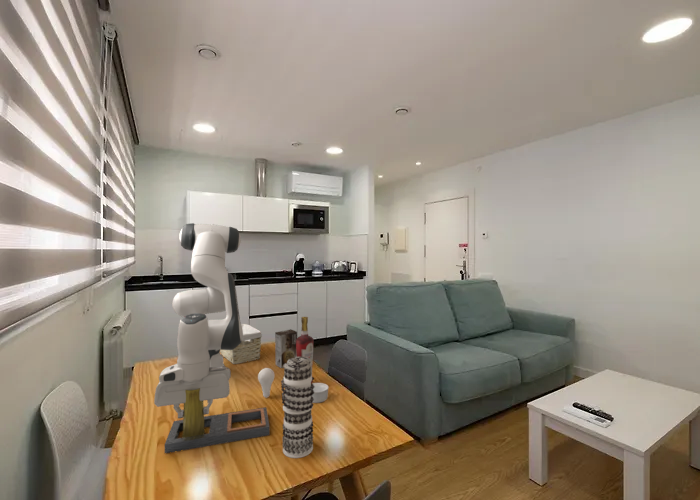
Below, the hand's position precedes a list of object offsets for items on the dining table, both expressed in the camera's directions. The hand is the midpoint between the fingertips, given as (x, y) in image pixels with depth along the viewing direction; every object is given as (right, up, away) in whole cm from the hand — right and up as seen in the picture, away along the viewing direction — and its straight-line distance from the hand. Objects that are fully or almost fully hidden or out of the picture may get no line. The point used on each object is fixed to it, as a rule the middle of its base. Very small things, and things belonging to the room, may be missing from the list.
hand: (193, 415), depth 97 cm
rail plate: (+7, -6, +2) cm, 10 cm away
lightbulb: (+15, -7, +26) cm, 31 cm away
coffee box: (+16, -7, +62) cm, 64 cm away
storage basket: (-12, -7, +74) cm, 75 cm away
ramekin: (+34, -7, +25) cm, 43 cm away
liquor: (+28, -7, +38) cm, 47 cm away
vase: (0, -6, 0) cm, 6 cm away
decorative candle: (+32, -6, -6) cm, 33 cm away
